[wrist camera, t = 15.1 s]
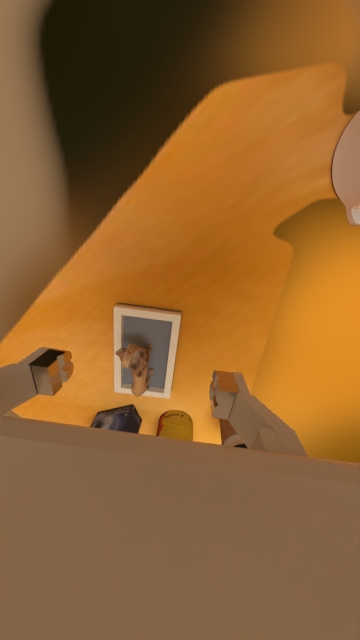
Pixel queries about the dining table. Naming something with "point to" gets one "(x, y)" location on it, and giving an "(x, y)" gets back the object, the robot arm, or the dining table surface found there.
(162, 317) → the picture frame
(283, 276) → the dining table surface
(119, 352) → the lion figurine
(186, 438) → the yellow food can
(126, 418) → the small box
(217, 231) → the dining table surface
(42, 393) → the robot arm
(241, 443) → the coffee cup
